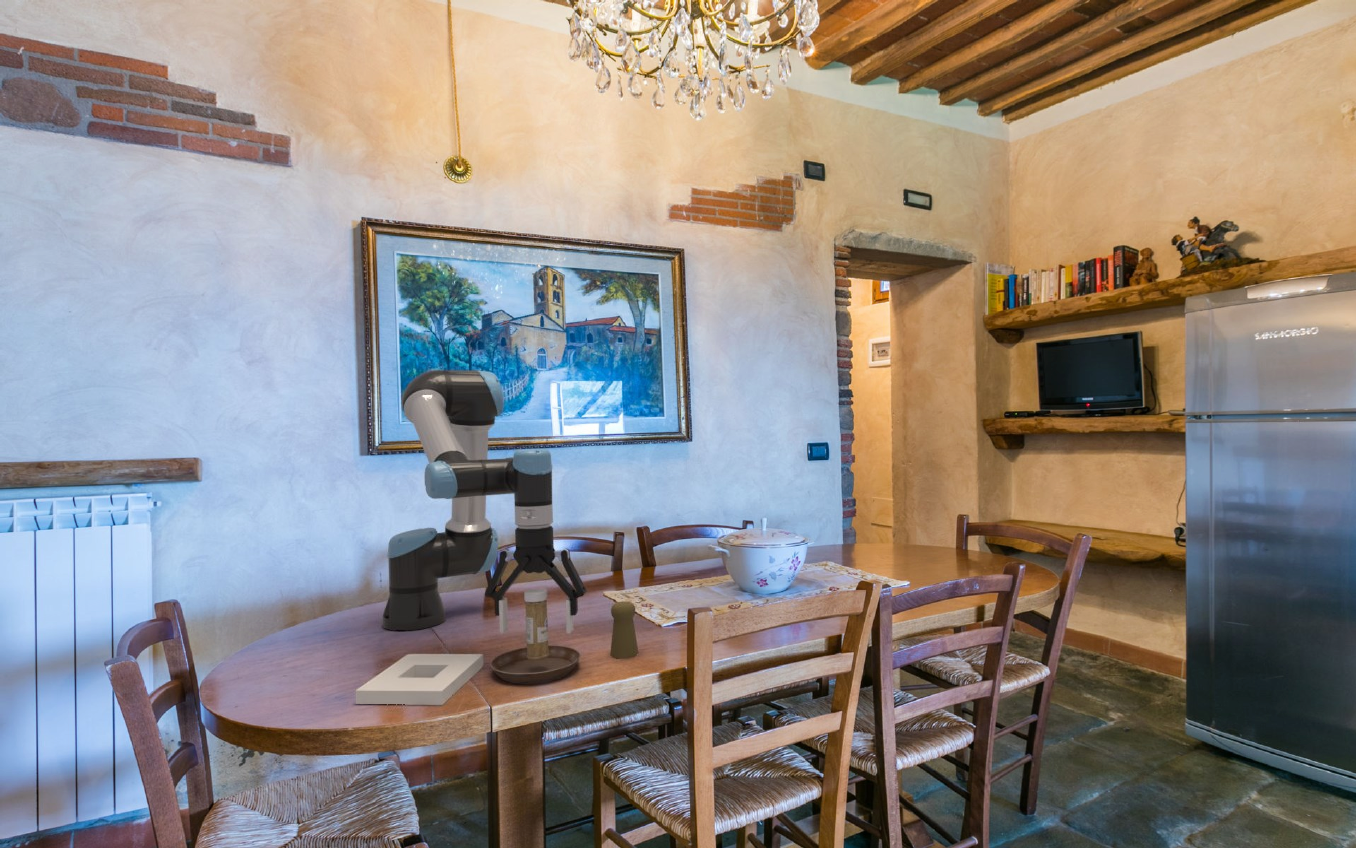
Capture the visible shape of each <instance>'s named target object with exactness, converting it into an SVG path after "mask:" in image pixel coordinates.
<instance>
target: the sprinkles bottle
mask: <svg viewBox="0 0 1356 848" xmlns="http://www.w3.org/2000/svg"><path fill="white" fill-rule="evenodd" d="M523 598H524V603H525V637H526V638H525V639H526V641H525V642H526V647H527V658H528V659H530V660H541V659H545V658H547V657H548V656H549V649H548V645H549V621H548V606H547V605H548V603H547V601H548V590H547V589H546V588H531V589H528V590H525V591H524V593H523Z"/></svg>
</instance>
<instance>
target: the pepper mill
mask: <svg viewBox="0 0 1356 848" xmlns="http://www.w3.org/2000/svg"><path fill="white" fill-rule="evenodd" d="M610 614H611V616H612V618H613V623H612V632H611V633H612V634H611V643H610V644H611V645H610V654H609V655H610V657H611V658H614V659H620V660H623V659H631V657H632V658H635V657H637V656H638V655H639V649H638V641H637V635H636V630H635V623H634V617H635V614H636V607H635V604H634V603H633V602H630V601H624V600H623V601H618V602H615V603H613V604H612V606H611V608H610ZM637 654H638V655H637Z"/></svg>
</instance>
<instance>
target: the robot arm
mask: <svg viewBox="0 0 1356 848" xmlns="http://www.w3.org/2000/svg"><path fill="white" fill-rule="evenodd" d="M401 407H402V411H403V413H404V417H406V419H407V421H408V422H410V423H411V424H413V426H414V428H415V431H416V434H417V436H418V439H419V441H420V443H421V446H422V448H423V451H424V454H425V456H426V458H427V461H428V463H427V464H426V466H425V469H424V487H425V492H426V494H427V497H429V498H430V499H434V500H435V499H436V500H437V499H439V500H440V499H445V500H451V517H450V519H449V520H448V521H447V522H445V524H444V525H445V526H444V531H443V532H438V531H437V529H436V528H435V527H424V528H417V529H411V530H407V531H403V532H399V533H398V534H395V535H394V536H392V537H391V538H390V540H389V541H388V546H387V547H388V551H387V556H386V557H387V558H388V587H389V589H388V591H389V592H388V598H387V600H386V604H385V607H384V611H383V615H382V619H381V620H382V621H381V623H382V625H381V626H382V628H383V629H385V628H386V629H385V630H388V629H389V630H388V631H396V630H405V631H415V630H422V629H427V628H431V627H435V626H437V625H440V624H442V623H444V622H445V621H446V620H447V615H446V608H445V605H444V602H443V600H442V597H441V595H440V592H439V583H438V581H439V579H445V578H452V577H458V576H459V577H460V576H468V575H477V574H480V573H484V572H488V571H490V570H491V569H492V568H493V567H494V565H495V563H496V561H497V558H498V551H499V539H498V538H499V536H498V532H497V530H496V529H495V528H493V527H492V524H491V522H490V521H489V520H488V519H487V517H486V513H487V511H486V509H487V496H498V495H499V496H500V495H511V494H512V495H514V502H513V504H514V525H515V526H517V527H516V528H515V530H514V531H515V532H514V533H515V535H514V536H515V538H514V539H515V542H514V543H515V544H514V545H515V549H514V551H512V550H509V549H507V548H505V549H504V550H502V551H500V552H499V561H498V564H497V567H496V568H495V570H494V572H493V574H492V577H491V579H490V580H489V584H488V585H487V588H486V590H485V592H484V596H485V597H486V598H491V599H493V600H494V601H493V602H494V614H495V616H496V617H499V620H498V621H499V634H504V633H506V632H507V631H508V629H509V626H508V625H509V621H508V620H509V619H508V615H509V614H508V597H504V596H505V594H506V593H507V592H508V590H509V589H510V588H511V587H512V586H513V585H514V584H515V582H516V581H517V579H518V578H519V577H520V575H521V574H522V573H523V572H525V573H526V574H531V573H536V574H542V573H544V572H545V573H546V574H547V575H548V576H549V577H551V579H552V580H553V581H554V582H555V584H556V585H558V587H559V588H560V589H561V591H563V592H564V594H565V595H566V596H567V598H566V600H565V625H566V626H565V628H566V631H565V632H566V633H565V634H571V633H572V632H573V631H574V616H576V615H577V614H578V611H579V609H578V607H579V605H578V604H579V603H578V602H579V601H578V598H581V597H584V596H585V595H586V593H587V592H588V591H587V588H586V586H585V584H584V583H583V581H582V578H581V577H580V575H579V573H578V571H577V569H576V567H575V565H574V563H573V561H572V559H571V552H570V549H569V548H564V549H561V550H555V547H554V543H555V542H554V527H553V526H552V525H551V524H553V523H554V515H553V513H554V512H553V464H552V453H551V452H550V451H549V450H548V449H545V448H543V449H540V448H537V449H534V448H532V449H518V450H515V452H514V453H513V457H506V458H492V459H488V457H489V456H488V454H489V453H488V451H489V431H490V429H492V427H493V426H495V423H496V417H500V416H501V415H502V414H503V411H504V407H505V406H504V393H503V388H502V385H501V382H500V380H499V378H498V376H497V375H496V374H495V373H494V372H491V371H483V370H478V369H477V370H446V369H445V370H444V369H443V370H442V369H434V370H428V371H426V372H423V373H421V374H419V375H418V376H416V377H414V378H413V380H411V381H410V382H409V383H408V384H407V386H406V388H405V390H404V392H403V394H402V399H401ZM556 558H557V559H558V560H559V562H561V563H562V566H563V569H564V570H565V572H566V574H567V576H568V578H569V580H570V581H571V583H572V584H571V583H570V582H569V581H568V579H566V577H565V576H564V575H563V573H561V572H560V570H559V569H558V567H557V565H556V564H554V562H553V561H554V560H555V559H556ZM512 559H514V560H515V562H516V563H517V566H516V567H515V568H514V569H513V571H512V572H511V573H510V575H509V576H508V577H507V578H506V580H505V581H504V582H503V584H502V585H501V587H499V589H498V590H497V587H498V585H499V583H500V582H501V579H502V577H503V574H504V573H505V570H506V569H507V567H508V564H509V562H510V561H512ZM572 585H573V586H572Z"/></svg>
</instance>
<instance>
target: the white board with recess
mask: <svg viewBox="0 0 1356 848" xmlns="http://www.w3.org/2000/svg"><path fill="white" fill-rule="evenodd" d="M483 667H484V654H483V653H407V654H406V655H404V656H403V657H402V658H400V659H399V660H397V661H396V662H394V663H393V664H392V665H390V666H389V667H387V668H386V669H385V670H383V671H382V672H380V673H378V675H376V676H374V677H373V678H371V679H370V680H369V681H367V682H366V683H364V684H363V685H361V686H360V687H358V688H357V689H356V690H355V705H356V704H357V703H360V704H366V703H367V704H387V706H388V704H396V705H395V706H398V705H397V704H402V705H401V706H411V705H412V706H443V705H444V704H446V702H447V701H449V700H450V699H451V698H452V697H453V696H454V695H455V694H456V693H457V692H458V691H459V690H460V689H461V688H463V686H464V685H465V684H467V683H468V682H469V680H471V679H472V678H473V677H474V676H475V675H476V674H477V673H479V671H481V669H482V668H483ZM452 695H453V696H452ZM403 704H405V705H403Z"/></svg>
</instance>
